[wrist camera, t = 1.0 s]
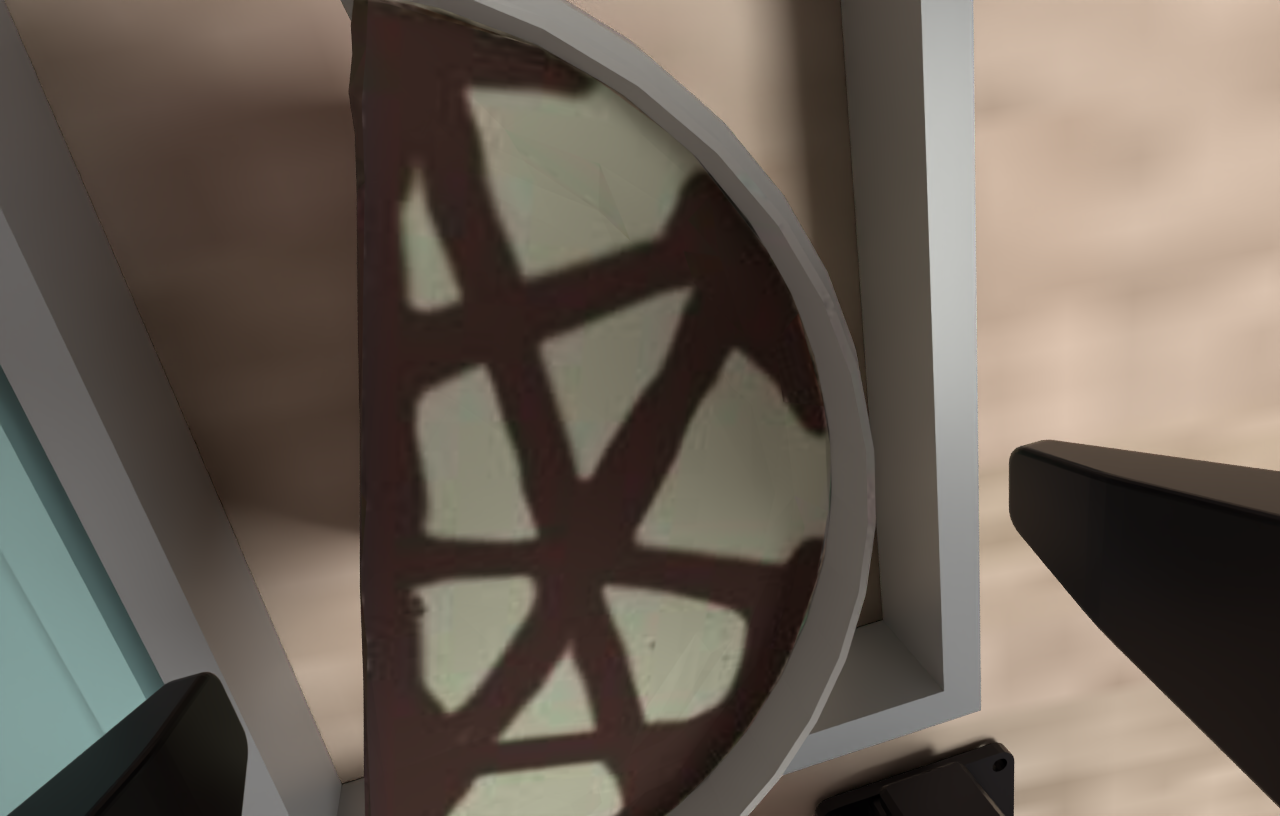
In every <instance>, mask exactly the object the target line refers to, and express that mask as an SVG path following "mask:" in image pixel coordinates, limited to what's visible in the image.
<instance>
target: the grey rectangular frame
mask: <svg viewBox="0 0 1280 816" xmlns="http://www.w3.org/2000/svg"><path fill="white" fill-rule="evenodd" d="M841 13H842V28H843V42H844V57H845V72H846V86H847V101H848V116H849V130H850V145H851V160H852V174H853V189H854V204H855V218H856V233H857V247H858V262H859V277H860V291H861V306H862V321H863V335H864V350H865V365H866V379H867V394H868V409H869V423H870V430H871V436H872V441H873V446H874V461H875V507H876V526H877V540H878V555H879V570H880V584H881V599H882V614H883V620H882V621H878V622H875V623H872V624H868V625H865V626H862V627H859V628H856V629H855V632H854V635H853V639H852V642H851V645H850V648H849V652H848V655H847V658H846V661H845V663H844V666H843V668H842V670H841V672H840V674H839V676H838V678H837V680H836V682H835V685H834V687H833V689H832V691H831V693H830V695H829V697H828V699H827V701H826V704H825V706H824V708H823V710H822V712H821V714H820V716H819V718H818V721H817V723H816V724H815V726H814V727H813V729H812V730H811V732H810V733H809V735H808V736H807V738H806V739H805V741H804V742H803V744H802V745H801V747H800V749H799V750H798V752H797V753H796V755H795V756H794V758H793V759H792V761H791V762H790V764H789V765H788V767H787V768H786V770H785V771H784V773H783V775H785V774H788V773H791V772H794V771H797V770H800V769H804V768H807V767H810V766H813V765H816V764H819V763H822V762H825V761H828V760H831V759H834V758H837V757H840V756H843V755H846V754H849V753H852V752H855V751H858V750H861V749H864V748H868V747H871V746H874V745H877V744H880V743H883V742H886V741H889V740H892V739H895V738H898V737H901V736H904V735H907V734H910V733H913V732H916V731H919V730H922V729H925V728H928V727H931V726H935V725H938V724H941V723H944V722H947V721H950V720H953V719H956V718H959V717H962V716H965V715H968V714H971V713H974V712H977V711H980V710H981V672H980V579H979V487H978V394H977V302H976V209H975V116H974V24H973V0H841ZM0 365H1V367H2V369H3V371H4V373H5V375H6V377H7V379H8V381H9V383H10V385H11V386H12V388H13V390H14V392H15V394H16V396H17V398H18V400H19V402H20V404H21V406H22V408H23V410H24V412H25V414H26V416H27V418H28V420H29V422H30V423H31V425H32V427H33V429H34V431H35V433H36V435H37V437H38V439H39V441H40V443H41V445H42V447H43V449H44V451H45V453H46V455H47V457H48V459H49V460H50V462H51V464H52V466H53V468H54V470H55V472H56V474H57V476H58V478H59V480H60V482H61V484H62V486H63V488H64V490H65V492H66V494H67V496H68V497H69V499H70V501H71V503H72V505H73V507H74V509H75V511H76V513H77V515H78V517H79V519H80V521H81V523H82V525H83V527H84V529H85V531H86V533H87V534H88V536H89V538H90V540H91V542H92V544H93V546H94V548H95V550H96V552H97V554H98V556H99V558H100V560H101V562H102V564H103V566H104V568H105V570H106V571H107V573H108V575H109V577H110V579H111V581H112V583H113V585H114V587H115V589H116V591H117V593H118V595H119V597H120V599H121V601H122V603H123V605H124V607H125V608H126V610H127V612H128V614H129V616H130V618H131V620H132V622H133V624H134V626H135V628H136V630H137V632H138V634H139V636H140V638H141V640H142V642H143V644H144V645H145V647H146V649H147V651H148V653H149V655H150V657H151V659H152V661H153V663H154V665H155V667H156V669H157V671H158V673H159V675H160V677H161V679H162V681H163V682H164V684H166V683H168V682H170V681H172V680H176V679H180V678H183V677H187V676H190V675H194V674H198V673H201V672H211V673H213V674H215V675H216V676H217V677H218V678H219V679H220V681H221V682H222V684H223V686H224V689H225V691H226V693H227V695H228V697H229V699H230V701H231V703H232V705H233V707H234V710H235V712H236V714H237V716H238V718H239V720H240V722H241V724H242V726H243V729H244V731H245V734H246V738H247V743H248V762H247V772H246V781H245V790H244V800H243V809H242V816H365V791H364V778H362V779H359V780H355V781H352V782H349V783H345V784H342V783H341V781H340V779H339V776H338V774H337V772H336V769H335V767H334V765H333V762H332V760H331V758H330V755H329V753H328V751H327V748H326V746H325V744H324V741H323V739H322V737H321V735H320V732H319V730H318V728H317V725H316V723H315V721H314V718H313V716H312V714H311V711H310V709H309V707H308V704H307V702H306V700H305V697H304V695H303V693H302V690H301V688H300V686H299V683H298V681H297V679H296V676H295V674H294V672H293V670H292V667H291V665H290V663H289V660H288V658H287V656H286V653H285V651H284V649H283V646H282V644H281V642H280V639H279V637H278V635H277V632H276V630H275V628H274V625H273V623H272V621H271V618H270V616H269V614H268V611H267V609H266V607H265V605H264V602H263V600H262V598H261V595H260V593H259V591H258V588H257V586H256V584H255V581H254V579H253V577H252V574H251V572H250V570H249V567H248V565H247V563H246V560H245V558H244V556H243V553H242V551H241V549H240V546H239V544H238V542H237V540H236V537H235V535H234V533H233V530H232V528H231V526H230V523H229V521H228V519H227V516H226V514H225V512H224V509H223V507H222V505H221V502H220V500H219V498H218V495H217V493H216V491H215V488H214V486H213V484H212V481H211V479H210V477H209V475H208V472H207V470H206V468H205V465H204V463H203V461H202V458H201V456H200V454H199V451H198V449H197V447H196V444H195V442H194V440H193V437H192V435H191V433H190V430H189V428H188V426H187V423H186V421H185V419H184V416H183V414H182V412H181V410H180V407H179V405H178V403H177V400H176V398H175V396H174V393H173V391H172V389H171V386H170V384H169V382H168V379H167V377H166V375H165V372H164V370H163V368H162V365H161V363H160V361H159V358H158V356H157V354H156V351H155V349H154V347H153V345H152V342H151V340H150V338H149V335H148V333H147V331H146V328H145V326H144V324H143V321H142V319H141V317H140V314H139V312H138V310H137V307H136V305H135V303H134V300H133V298H132V296H131V293H130V291H129V289H128V286H127V284H126V282H125V279H124V277H123V275H122V273H121V270H120V268H119V266H118V263H117V261H116V259H115V256H114V254H113V252H112V249H111V247H110V245H109V242H108V240H107V238H106V235H105V233H104V231H103V228H102V226H101V224H100V221H99V219H98V217H97V214H96V212H95V210H94V208H93V205H92V203H91V201H90V198H89V196H88V194H87V191H86V189H85V187H84V184H83V182H82V180H81V177H80V175H79V173H78V170H77V168H76V166H75V163H74V161H73V159H72V156H71V154H70V152H69V149H68V147H67V145H66V143H65V140H64V138H63V136H62V133H61V131H60V129H59V126H58V124H57V122H56V119H55V117H54V115H53V112H52V110H51V108H50V105H49V103H48V101H47V98H46V96H45V94H44V91H43V89H42V87H41V84H40V82H39V80H38V78H37V75H36V73H35V71H34V68H33V66H32V64H31V61H30V59H29V57H28V54H27V52H26V50H25V47H24V45H23V43H22V40H21V38H20V36H19V33H18V31H17V29H16V26H15V24H14V22H13V19H12V17H11V15H10V13H9V10H8V8H7V6H6V3H5V1H4V0H0Z"/></svg>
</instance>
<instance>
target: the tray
mask: <svg viewBox="0 0 1280 816" xmlns="http://www.w3.org/2000/svg"><path fill="white" fill-rule="evenodd" d="M163 685H165V684H164V682H163V681H162V679H161V677H160V675H159V673H158V671H157V669H156V667H155V665H154V663H153V661H152V659H151V657H150V655H149V653H148V651H147V649H146V647H145V645H144V644H143V642H142V640H141V638H140V636H139V634H138V632H137V630H136V628H135V626H134V624H133V622H132V620H131V618H130V616H129V614H128V612H127V610H126V608H125V607H124V605H123V603H122V601H121V599H120V597H119V595H118V593H117V591H116V589H115V587H114V585H113V583H112V581H111V579H110V577H109V575H108V573H107V571H106V570H105V568H104V566H103V564H102V562H101V560H100V558H99V556H98V554H97V552H96V550H95V548H94V546H93V544H92V542H91V540H90V538H89V536H88V534H87V533H86V531H85V529H84V527H83V525H82V523H81V521H80V519H79V517H78V515H77V513H76V511H75V509H74V507H73V505H72V503H71V501H70V499H69V497H68V496H67V494H66V492H65V490H64V488H63V486H62V484H61V482H60V480H59V478H58V476H57V474H56V472H55V470H54V468H53V466H52V464H51V462H50V460H49V459H48V457H47V455H46V453H45V451H44V449H43V447H42V445H41V443H40V441H39V439H38V437H37V435H36V433H35V431H34V429H33V427H32V425H31V423H30V422H29V420H28V418H27V416H26V414H25V412H24V410H23V408H22V406H21V404H20V402H19V400H18V398H17V396H16V394H15V392H14V390H13V388H12V386H11V385H10V383H9V381H8V379H7V377H6V375H5V373H4V371H3V369H2V367H1V365H0V816H7V815H8V814H9V813H11V812H12V811H13V810H14V809H15V808H17V807H18V806H19V805H20V804H21V803H23V802H24V801H25V800H26V799H27V798H29V797H30V796H31V795H32V794H33V793H35V792H36V791H37V790H38V789H39V788H41V787H42V786H43V785H44V784H45V783H47V782H48V781H49V780H50V779H51V778H53V777H54V776H55V775H56V774H57V773H59V772H60V771H61V770H62V769H63V768H65V767H66V766H67V765H68V764H69V763H71V762H72V761H73V760H74V759H76V758H77V757H78V756H79V755H80V754H82V753H83V752H84V751H85V750H86V749H88V748H89V747H90V746H91V745H92V744H94V743H95V742H96V741H97V740H98V739H100V738H101V737H102V736H103V735H104V734H106V733H107V732H108V731H109V730H110V729H112V728H113V727H114V726H115V725H116V724H118V723H119V722H120V721H121V720H122V719H124V718H125V717H126V716H127V715H128V714H130V713H131V712H132V711H133V710H134V709H136V708H137V707H138V706H139V705H140V704H142V703H143V702H144V701H145V700H146V699H148V698H149V697H150V696H151V695H152V694H154V693H155V692H156V691H157V690H159V689H160V688H161V687H162V686H163Z"/></svg>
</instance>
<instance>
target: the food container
mask: <svg viewBox="0 0 1280 816" xmlns="http://www.w3.org/2000/svg"><path fill="white" fill-rule="evenodd" d="M341 2H342V4H343V6H344V8H345V10H346V12H347V14H348V16H349V18H350V20H351V34H352V53H353V54H352V64H351V74H350V84H349V97H350V104H351V110H352V117H353V123H354V129H355V149H356V179H357V280H358V354H359V408H360V599H361V627H362V654H363V690H364V791H365V816H748V815H749V814H750V813H751V812H752V811H753V810H754V808H755V807H756V806H757V805H758V804H759V803H760V801H761V800H762V799H763V798H764V797H765V796H766V794H767V793H768V792H769V791H770V790H771V789H772V787H773V786H774V785H775V784H776V783H777V782H778V780H779V779H780V778H781V776H782V775H783V773H784V771H785V770H786V768H787V767H788V765H789V764H790V762H791V761H792V759H793V758H794V756H795V755H796V753H797V752H798V750H799V749H800V747H801V745H802V744H803V742H804V741H805V739H806V738H807V736H808V735H809V733H810V732H811V730H812V729H813V727H814V726H815V724H816V723H817V721H818V718H819V716H820V714H821V712H822V710H823V708H824V706H825V704H826V701H827V699H828V697H829V695H830V693H831V691H832V689H833V687H834V685H835V682H836V680H837V678H838V676H839V674H840V672H841V670H842V668H843V666H844V663H845V661H846V658H847V655H848V652H849V648H850V645H851V642H852V639H853V635H854V632H855V629H856V625H857V622H858V619H859V615H860V612H861V609H862V606H863V602H864V599H865V596H866V590H867V583H868V576H869V569H870V562H871V555H872V548H873V541H874V534H875V527H876V507H875V461H874V446H873V441H872V436H871V430H870V423H869V417H868V412H867V407H866V401H865V396H864V391H863V385H862V380H861V374H860V369H859V364H858V358H857V353H856V348H855V345H854V342H853V340H852V337H851V334H850V331H849V329H848V326H847V323H846V321H845V318H844V315H843V312H842V310H841V307H840V304H839V301H838V299H837V296H836V293H835V291H834V288H833V285H832V282H831V280H830V277H829V274H828V272H827V270H826V268H825V266H824V265H823V263H822V261H821V259H820V258H819V256H818V254H817V252H816V251H815V249H814V247H813V245H812V244H811V242H810V240H809V238H808V237H807V235H806V233H805V231H804V230H803V228H802V226H801V224H800V223H799V221H798V219H797V217H796V216H795V214H794V212H793V210H792V209H791V207H790V205H789V203H788V202H787V200H786V198H785V196H784V195H783V194H782V193H781V191H780V190H779V189H778V188H777V187H776V185H775V184H774V183H773V182H772V180H771V179H770V178H769V177H768V176H767V174H766V173H765V172H764V171H763V169H762V168H761V167H760V166H759V165H758V163H757V162H756V161H755V160H754V158H753V157H752V156H751V155H750V154H749V152H748V151H747V150H746V149H745V147H744V146H743V145H742V144H741V143H740V141H739V140H738V139H737V138H736V136H735V135H734V134H733V133H732V132H731V130H730V129H729V128H728V127H727V125H726V124H725V123H724V122H723V121H722V120H721V119H720V118H718V117H717V116H716V115H715V114H714V113H713V112H712V111H711V110H710V109H709V108H708V107H706V106H705V105H704V104H703V103H702V102H701V101H700V100H699V99H698V98H696V97H695V96H694V95H693V94H692V93H691V92H689V91H688V90H687V89H686V88H685V87H684V86H683V85H681V84H680V83H679V82H678V81H677V80H676V79H674V78H673V77H672V76H671V75H670V74H669V73H668V72H666V71H665V70H664V69H663V68H662V67H661V66H659V65H658V64H657V63H656V62H655V61H654V60H652V59H651V58H650V57H649V56H648V55H647V54H646V53H644V52H643V51H642V50H641V49H640V48H639V47H637V46H636V45H635V44H634V43H633V42H632V41H631V40H629V39H628V38H626V37H625V36H623V35H621V34H620V33H618V32H617V31H615V30H613V29H612V28H610V27H608V26H607V25H605V24H604V23H602V22H600V21H599V20H597V19H596V18H594V17H592V16H591V15H589V14H587V13H586V12H584V11H583V10H581V9H579V8H578V7H576V6H575V5H573V4H571V3H570V2H568V1H566V0H341Z"/></svg>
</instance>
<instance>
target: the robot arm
mask: <svg viewBox="0 0 1280 816" xmlns="http://www.w3.org/2000/svg"><path fill="white" fill-rule="evenodd" d="M1009 513H1010V517H1011V520H1012V523H1013V525H1014V527H1015V528H1016V530H1017V531H1018V533H1019V534H1020V535H1021V536H1022V538H1023V539H1024V540H1025V541H1026V542H1027V544H1028V545H1029V546H1030V547H1031V548H1032V550H1033V551H1034V552H1035V553H1036V554H1037V556H1038V557H1039V558H1040V559H1041V560H1042V562H1043V563H1044V564H1045V565H1046V566H1047V568H1048V569H1049V570H1050V571H1051V572H1052V574H1053V575H1054V576H1055V577H1056V578H1057V580H1058V581H1059V582H1060V583H1061V584H1062V586H1063V587H1064V588H1065V589H1066V590H1067V592H1068V593H1069V594H1070V595H1071V596H1072V598H1073V599H1074V600H1075V601H1076V602H1077V604H1078V605H1079V606H1080V607H1081V608H1082V610H1083V611H1084V612H1085V613H1086V614H1087V615H1088V617H1089V618H1090V619H1091V620H1092V621H1093V622H1094V623H1095V625H1096V626H1097V627H1098V628H1099V629H1100V630H1101V631H1102V632H1103V633H1104V634H1105V635H1106V636H1107V637H1108V638H1109V639H1110V640H1111V641H1112V642H1113V644H1114V645H1115V646H1116V647H1117V648H1118V649H1120V650H1121V651H1122V652H1123V653H1124V654H1125V655H1126V656H1127V657H1128V658H1129V659H1130V660H1131V661H1132V662H1133V663H1134V664H1135V665H1136V666H1137V667H1138V668H1139V669H1140V670H1141V671H1142V672H1143V673H1144V674H1145V675H1146V676H1147V677H1148V678H1149V679H1150V680H1151V681H1152V682H1153V683H1154V684H1155V685H1156V686H1157V687H1158V688H1159V689H1160V690H1161V691H1162V692H1163V693H1164V694H1165V695H1166V696H1167V697H1168V698H1169V699H1170V700H1171V701H1172V702H1173V703H1174V704H1175V705H1176V706H1177V707H1178V708H1179V709H1180V710H1181V711H1182V712H1183V713H1184V714H1185V715H1186V716H1187V717H1188V718H1189V719H1190V720H1191V721H1192V722H1193V723H1194V724H1195V725H1196V726H1197V727H1198V728H1199V729H1200V730H1201V731H1202V732H1203V733H1204V734H1205V735H1206V736H1207V737H1209V738H1210V739H1211V740H1212V741H1213V742H1214V743H1215V744H1216V745H1217V746H1218V747H1219V748H1220V749H1221V750H1222V751H1223V752H1224V753H1225V754H1226V755H1227V756H1228V757H1229V758H1230V759H1231V760H1232V761H1233V762H1234V763H1235V764H1236V765H1237V766H1238V767H1239V768H1240V769H1241V770H1242V771H1243V772H1244V773H1245V774H1246V775H1247V776H1248V777H1249V778H1250V779H1251V780H1252V781H1253V782H1254V783H1255V784H1256V785H1257V786H1258V787H1259V788H1260V789H1261V790H1262V791H1263V792H1264V793H1265V794H1266V795H1267V796H1268V797H1269V798H1270V799H1271V800H1272V801H1273V802H1274V803H1275V804H1276V805H1277V806H1278V807H1279V808H1280V471H1273V470H1266V469H1259V468H1252V467H1244V466H1237V465H1230V464H1223V463H1215V462H1208V461H1201V460H1194V459H1186V458H1179V457H1172V456H1165V455H1157V454H1150V453H1143V452H1136V451H1128V450H1121V449H1114V448H1107V447H1099V446H1092V445H1085V444H1078V443H1070V442H1063V441H1056V440H1041V441H1038V442H1034V443H1031V444H1027V445H1023V446H1020V447H1018V448H1016V449H1015V450H1014V451H1013V452H1012V453H1011V456H1010V459H1009ZM247 762H248V743H247V738H246V734H245V731H244V729H243V726H242V724H241V722H240V720H239V718H238V716H237V714H236V712H235V710H234V707H233V705H232V703H231V701H230V699H229V697H228V695H227V693H226V691H225V689H224V686H223V684H222V682H221V681H220V679H219V678H218V677H217V676H216V675H215V674H213V673H211V672H201V673H198V674H194V675H190V676H187V677H183V678H180V679H176V680H172V681H170V682H168V683H166V684H165V685H163V686H162V687H161V688H160V689H159V690H157V691H156V692H155V693H154V694H152V695H151V696H150V697H149V698H148V699H146V700H145V701H144V702H143V703H142V704H140V705H139V706H138V707H137V708H136V709H134V710H133V711H132V712H131V713H130V714H128V715H127V716H126V717H125V718H124V719H122V720H121V721H120V722H119V723H118V724H116V725H115V726H114V727H113V728H112V729H110V730H109V731H108V732H107V733H106V734H104V735H103V736H102V737H101V738H100V739H98V740H97V741H96V742H95V743H94V744H92V745H91V746H90V747H89V748H88V749H86V750H85V751H84V752H83V753H82V754H80V755H79V756H78V757H77V758H76V759H74V760H73V761H72V762H71V763H69V764H68V765H67V766H66V767H65V768H63V769H62V770H61V771H60V772H59V773H57V774H56V775H55V776H54V777H53V778H51V779H50V780H49V781H48V782H47V783H45V784H44V785H43V786H42V787H41V788H39V789H38V790H37V791H36V792H35V793H33V794H32V795H31V796H30V797H29V798H27V799H26V800H25V801H24V802H23V803H21V804H20V805H19V806H18V807H17V808H15V809H14V810H13V811H12V812H11V813H9V814H8V815H7V816H242V809H243V800H244V790H245V781H246V772H247ZM815 816H1014V757H1013V755H1012V754H1011V753H1010V752H1009V751H1008V750H1007V748H1006V747H1005V746H1004V745H1003V744H1001V743H992V744H989V745H986V746H983V747H980V748H977V749H974V750H971V751H968V752H965V753H962V754H959V755H956V756H953V757H950V758H947V759H944V760H941V761H938V762H935V763H932V764H930V765H927V766H924V767H921V768H918V769H915V770H912V771H909V772H906V773H903V774H900V775H897V776H894V777H891V778H888V779H885V780H882V781H879V782H876V783H873V784H870V785H867V786H864V787H861V788H858V789H855V790H852V791H849V792H846V793H843V794H840V795H837V796H834V797H831V798H828V799H826V800H824V801H823V802H821V803H820V804H819V805H818V807H817V808H816V810H815Z"/></svg>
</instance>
